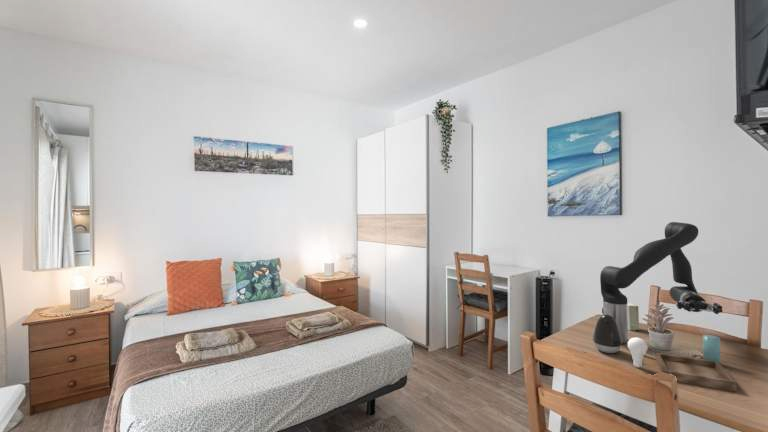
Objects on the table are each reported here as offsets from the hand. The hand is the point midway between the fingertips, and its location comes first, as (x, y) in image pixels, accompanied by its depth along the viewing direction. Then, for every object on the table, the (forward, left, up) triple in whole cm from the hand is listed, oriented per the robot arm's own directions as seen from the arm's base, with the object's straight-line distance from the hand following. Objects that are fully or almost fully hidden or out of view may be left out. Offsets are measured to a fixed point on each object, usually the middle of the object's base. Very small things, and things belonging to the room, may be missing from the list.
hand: (703, 310), depth 143 cm
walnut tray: (-9, -27, -17) cm, 34 cm away
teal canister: (0, -11, -17) cm, 21 cm away
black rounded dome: (-34, -16, -18) cm, 42 cm away
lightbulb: (-25, -29, -18) cm, 42 cm away
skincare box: (-22, +23, -18) cm, 36 cm away
